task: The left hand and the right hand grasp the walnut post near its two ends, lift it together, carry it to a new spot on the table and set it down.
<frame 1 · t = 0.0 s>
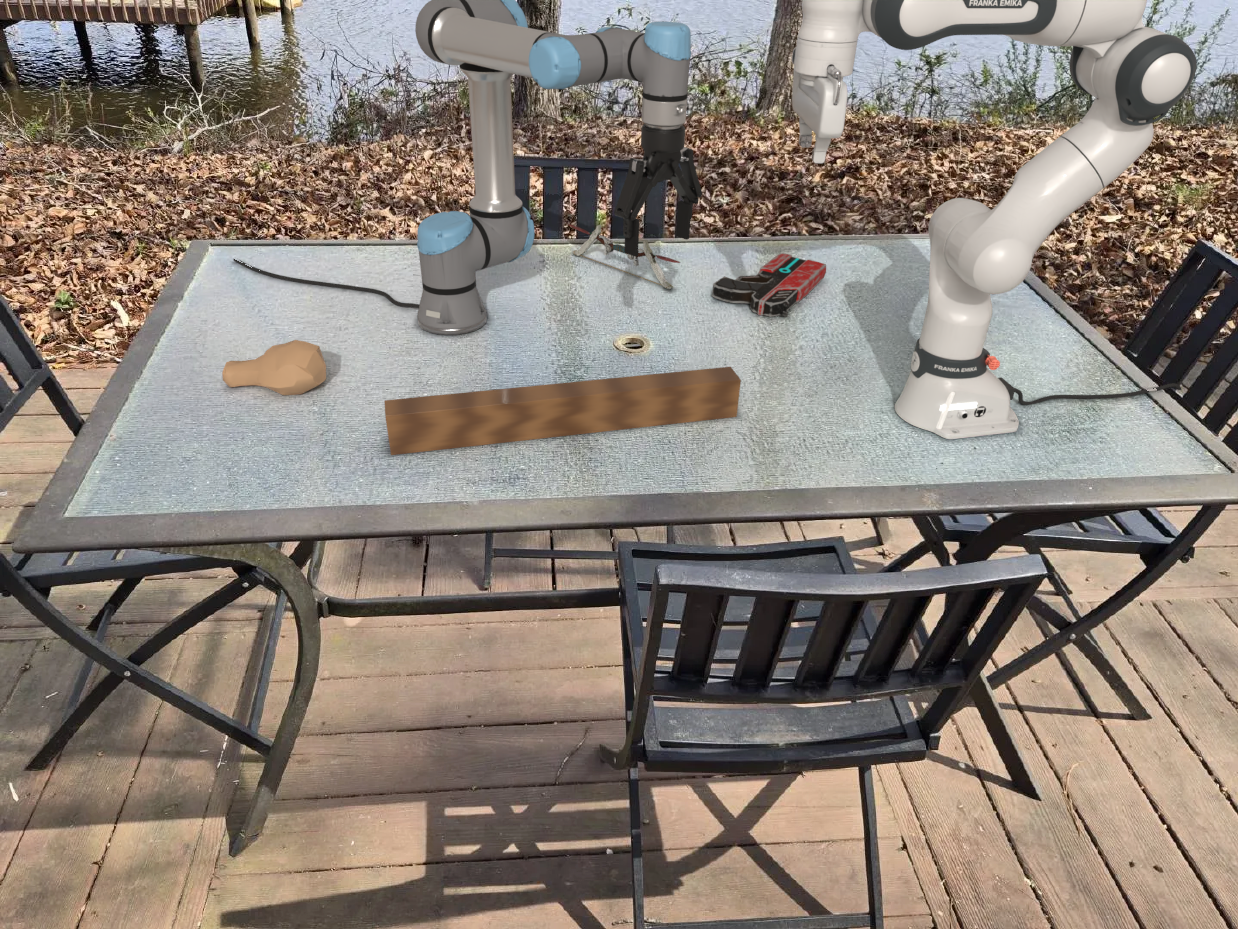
left hand: (657, 245, 161), 28 cm above the table, tool pointing down, fingers open, 13 cm apart
right hand: (811, 154, 140), 48 cm above the table, tool pointing down, fingers open, 8 cm apart
gun: (770, 291, 216), on the table
post: (568, 427, 160), on the table
bow: (620, 271, 225), on the table
squash: (278, 387, 170), on the table
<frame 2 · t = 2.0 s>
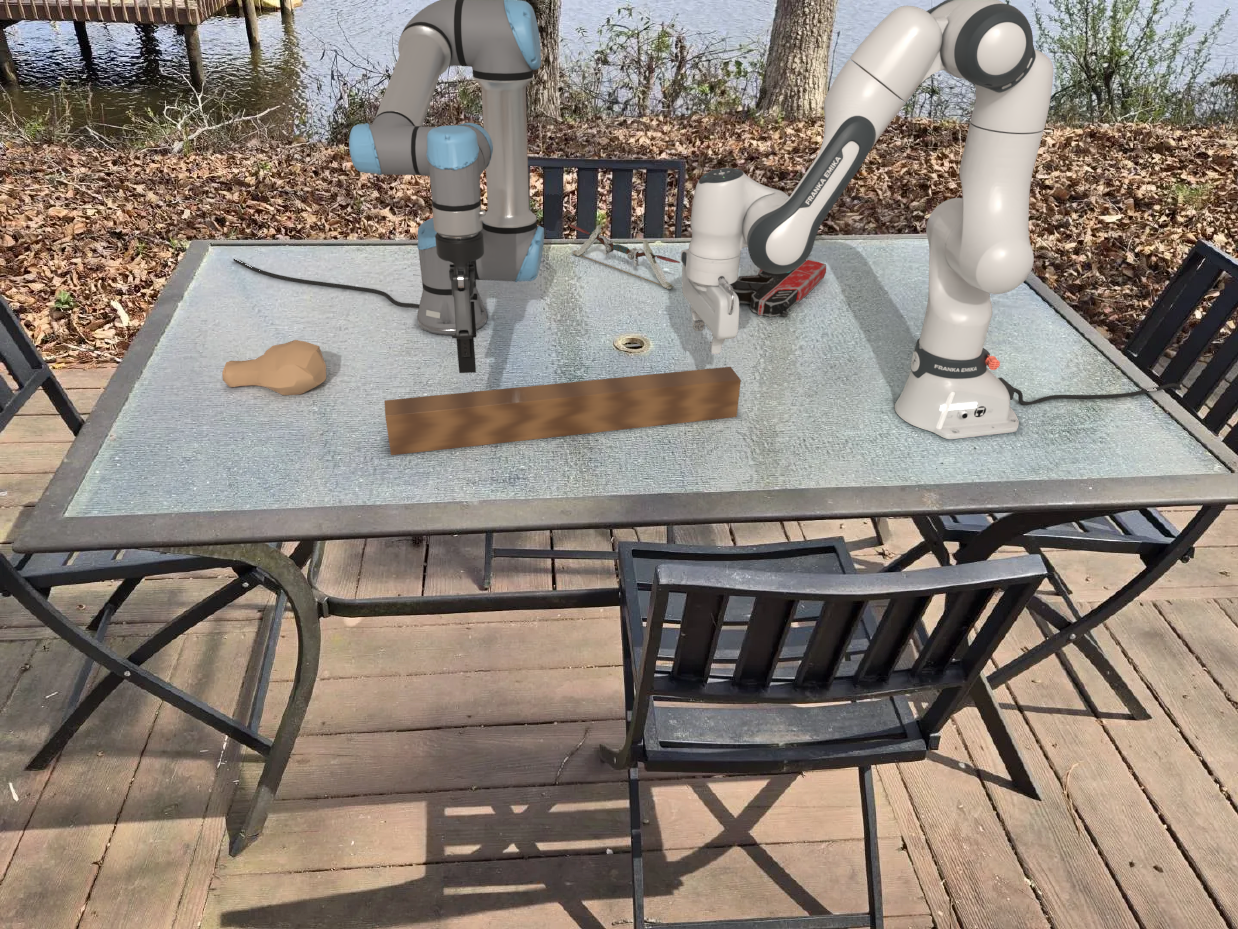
left hand: (468, 353, 150), 16 cm above the table, tool pointing down, fingers open, 13 cm apart
right hand: (706, 340, 157), 15 cm above the table, tool pointing down, fingers open, 8 cm apart
nothing on the table moved.
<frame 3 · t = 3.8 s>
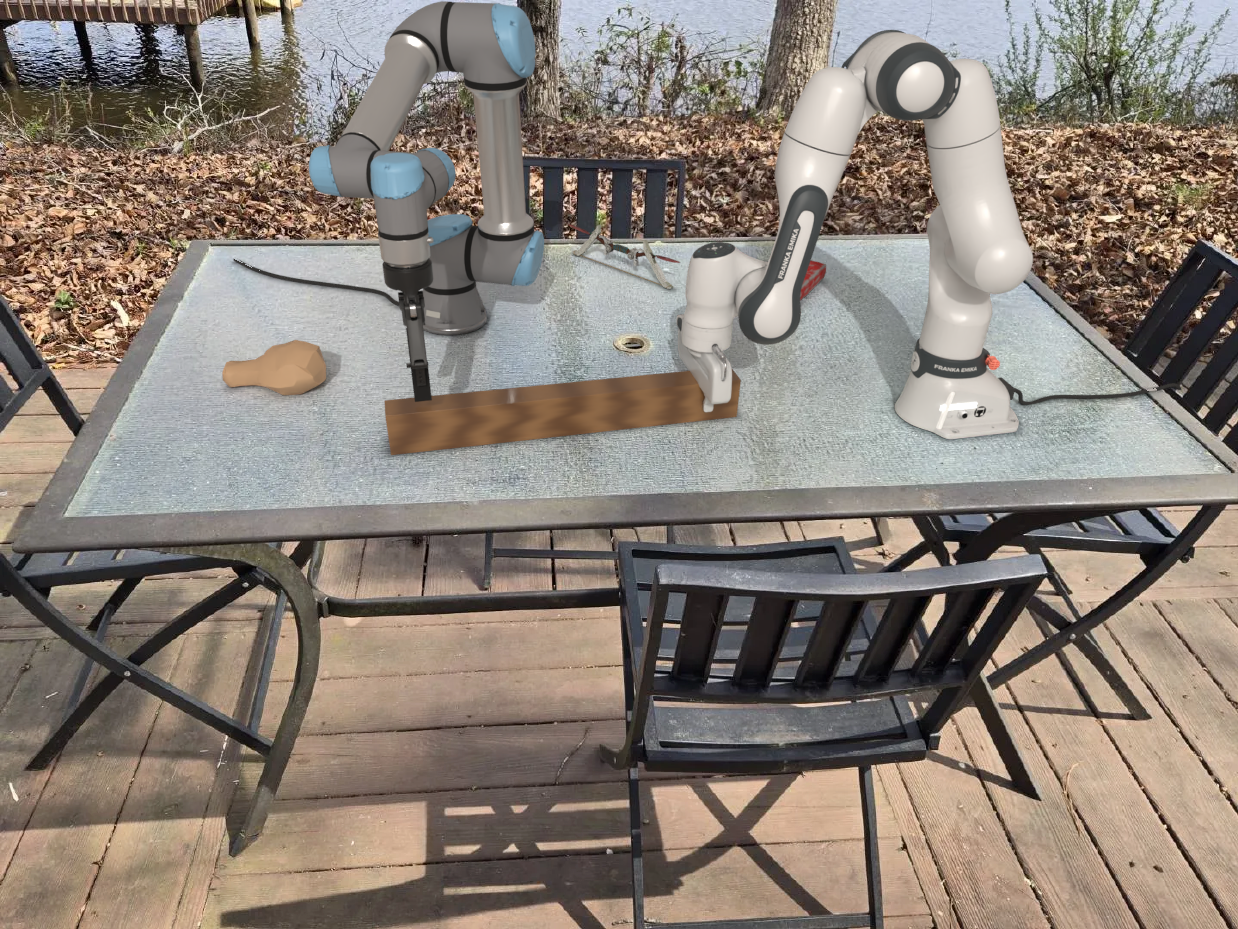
left hand: (420, 380, 148), 13 cm above the table, tool pointing down, fingers open, 13 cm apart
right hand: (701, 401, 164), 3 cm above the table, tool pointing down, fingers closed on post, 5 cm apart
post: (568, 427, 160), on the table, touching right hand
everything else where it was.
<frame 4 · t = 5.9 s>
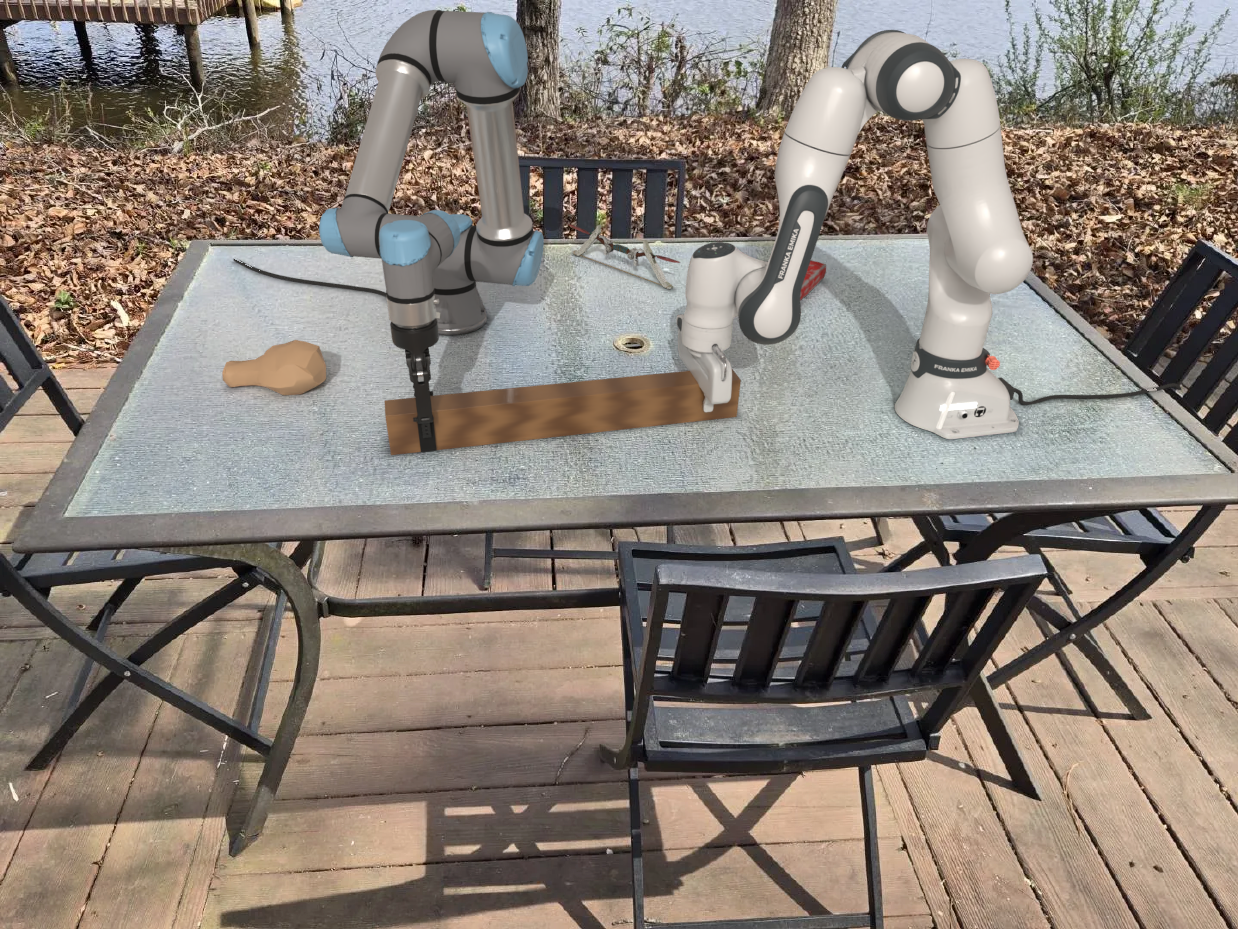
left hand: (427, 440, 155), 1 cm above the table, tool pointing down, fingers closed on post, 5 cm apart
right hand: (701, 401, 164), 3 cm above the table, tool pointing down, fingers closed on post, 5 cm apart
post: (568, 427, 160), on the table, touching left hand, right hand
everything else where it was.
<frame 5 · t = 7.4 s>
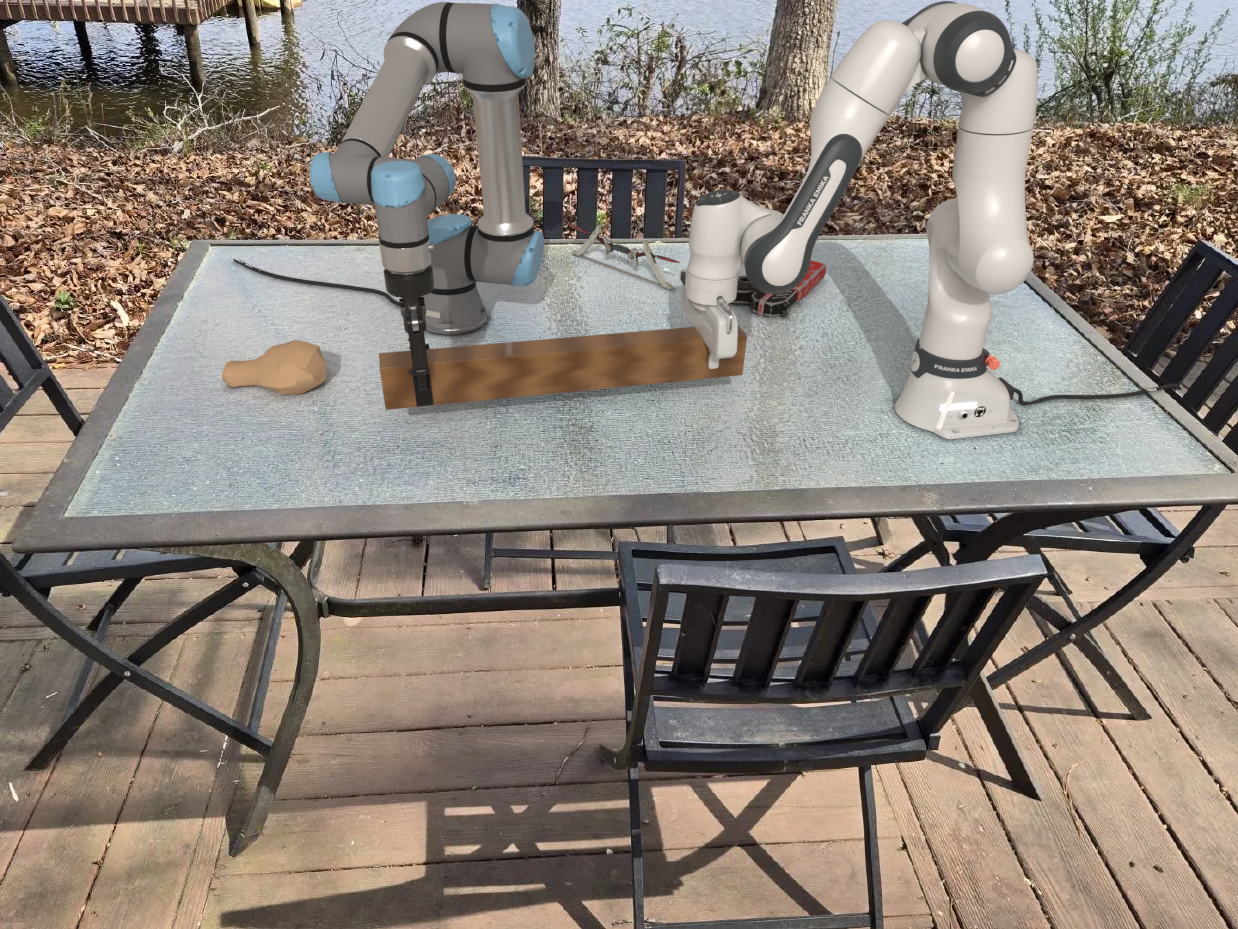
left hand: (423, 395, 150), 9 cm above the table, tool pointing down, fingers closed on post, 5 cm apart
right hand: (706, 358, 159), 12 cm above the table, tool pointing down, fingers closed on post, 5 cm apart
post: (569, 384, 156), point 9 cm above the table, touching left hand, right hand
everything else where it was.
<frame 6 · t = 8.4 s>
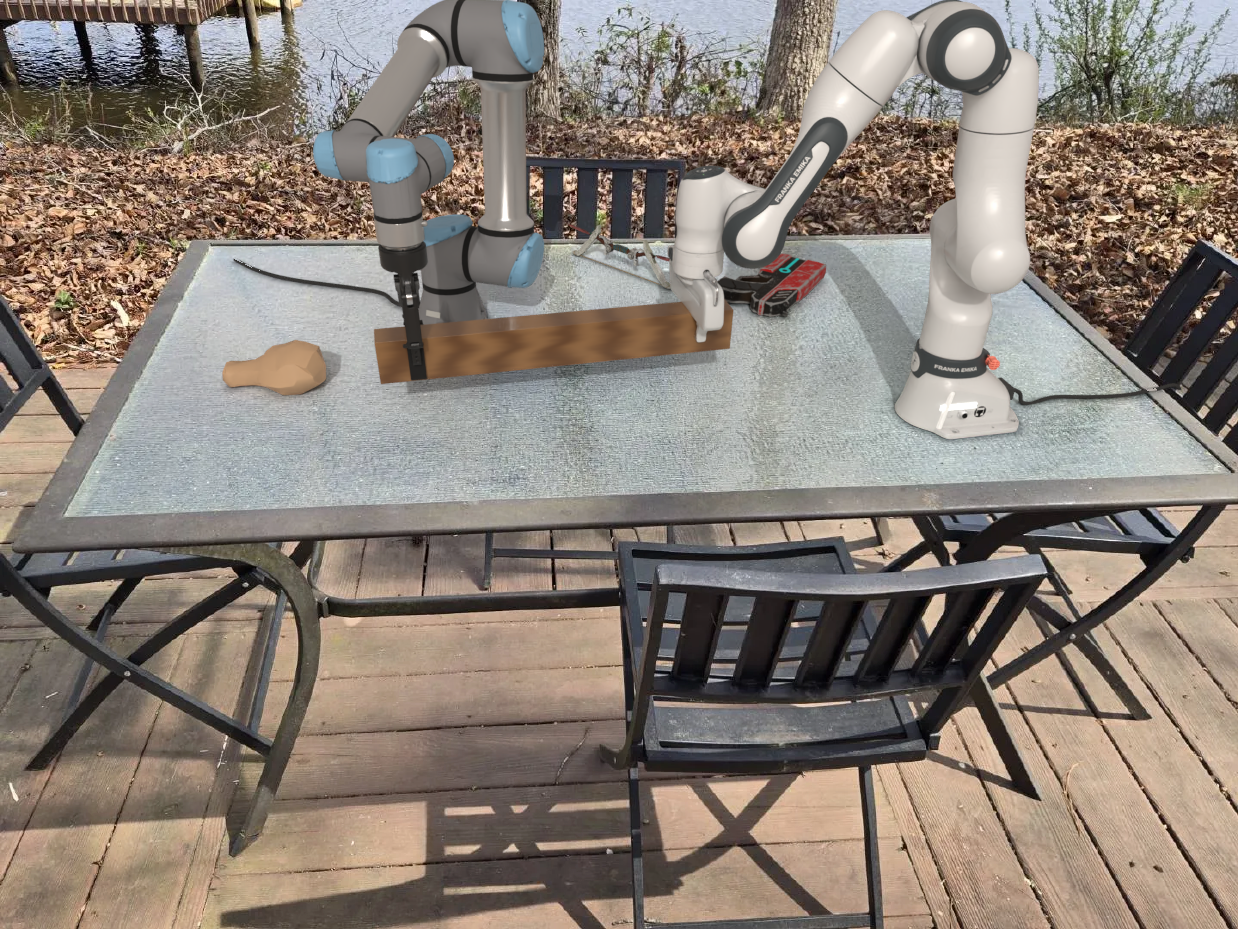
left hand: (417, 369, 154), 11 cm above the table, tool pointing down, fingers closed on post, 5 cm apart
right hand: (693, 332, 163), 14 cm above the table, tool pointing down, fingers closed on post, 5 cm apart
post: (559, 358, 159), point 11 cm above the table, touching left hand, right hand
everything else where it was.
when the left hand's fingers open (2 cm above the table, at t = 11.0 s): post drops 2 cm, held by the right hand.
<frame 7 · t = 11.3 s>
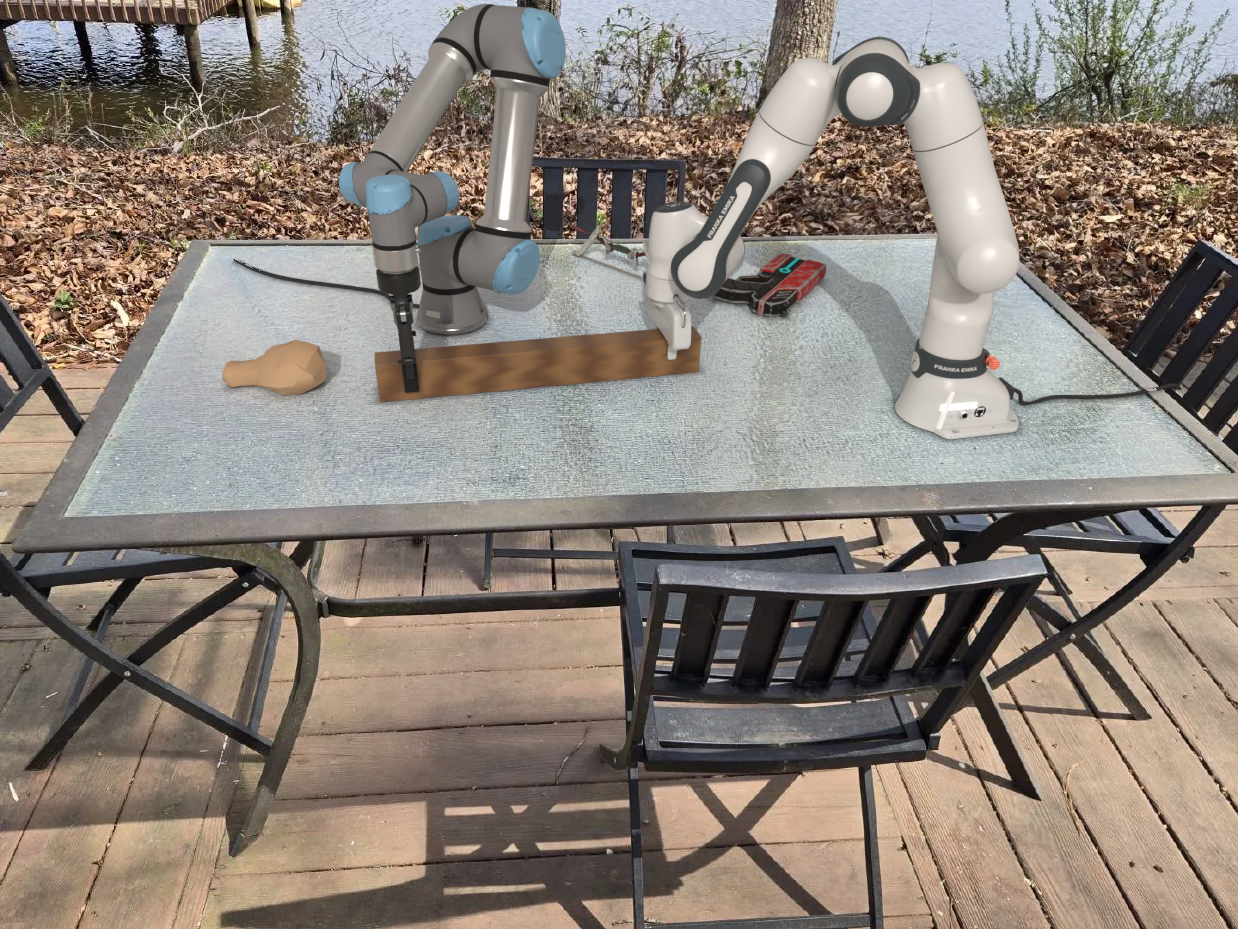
left hand: (411, 379, 168), 3 cm above the table, tool pointing down, fingers open, 8 cm apart
right hand: (665, 350, 178), 4 cm above the table, tool pointing down, fingers closed on post, 6 cm apart
post: (543, 380, 175), on the table, touching right hand
everything else where it was.
when the right hand's fingers open (4 cm above the table, at t = 11.3 s): post stays where it is, on the table.
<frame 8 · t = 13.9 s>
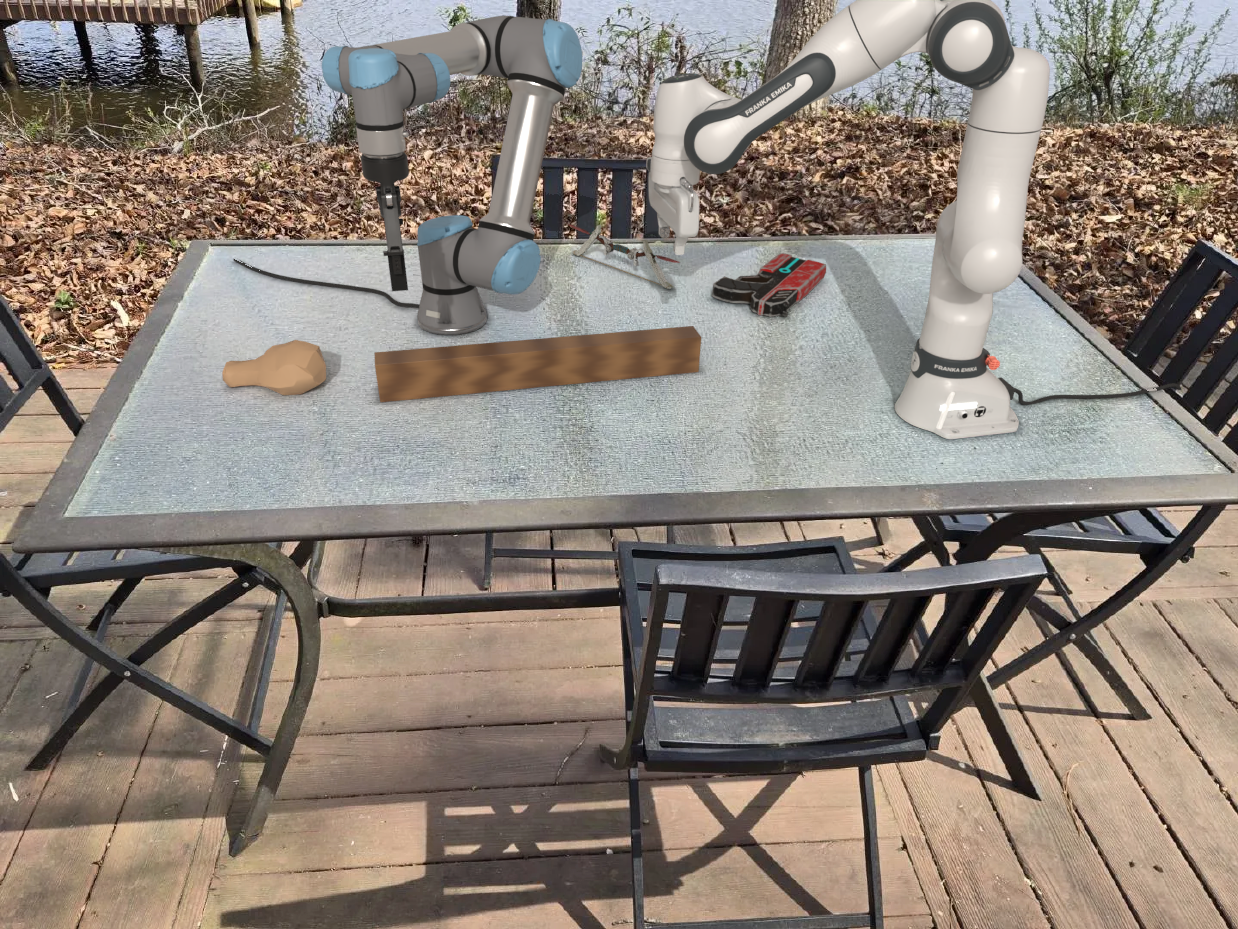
left hand: (398, 275, 156), 24 cm above the table, tool pointing down, fingers open, 13 cm apart
right hand: (671, 244, 166), 26 cm above the table, tool pointing down, fingers open, 8 cm apart
post: (543, 380, 175), on the table
everything else where it was.
at the end: post inside the target area (0.2 cm from its centre), on the table; post tilted 0°; post never tilted more than 2° during the clip; both hands held the post at the same time; the left hand is holding nothing; the right hand is holding nothing; post at rest at the end (0.0 cm/s) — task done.
